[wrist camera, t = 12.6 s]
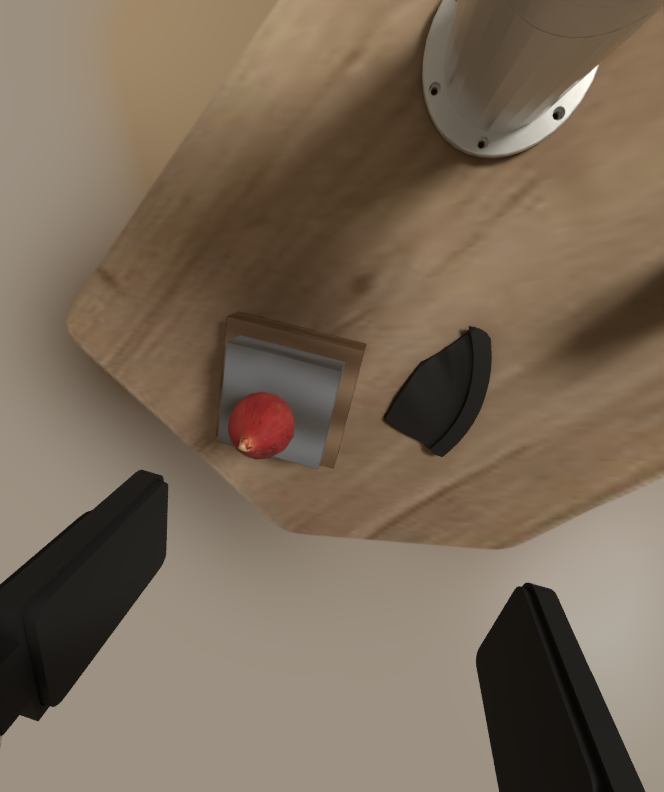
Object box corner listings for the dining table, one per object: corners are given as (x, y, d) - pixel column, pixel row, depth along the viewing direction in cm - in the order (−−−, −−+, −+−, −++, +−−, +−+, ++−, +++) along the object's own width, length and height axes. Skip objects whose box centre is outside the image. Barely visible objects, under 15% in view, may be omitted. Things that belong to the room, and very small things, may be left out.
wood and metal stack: (239, 311, 39) (213, 322, 34) (366, 343, 38) (360, 360, 33) (227, 424, 45) (203, 449, 39) (337, 454, 44) (328, 484, 38)
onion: (315, 418, 36) (293, 463, 28) (270, 443, 38) (239, 491, 30) (280, 369, 34) (248, 403, 27) (235, 398, 36) (194, 437, 29)
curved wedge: (525, 355, 36) (530, 360, 35) (442, 452, 42) (444, 459, 41) (454, 311, 36) (457, 314, 34) (380, 415, 42) (379, 422, 40)
